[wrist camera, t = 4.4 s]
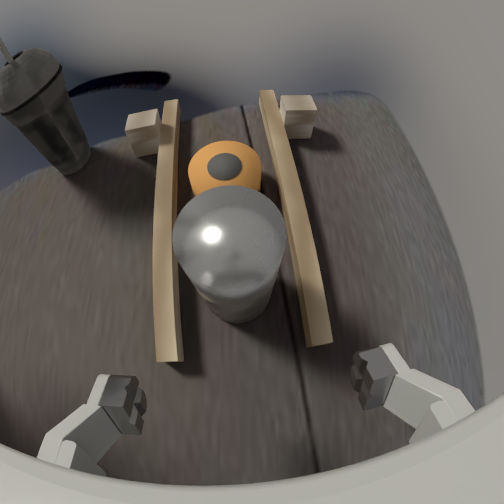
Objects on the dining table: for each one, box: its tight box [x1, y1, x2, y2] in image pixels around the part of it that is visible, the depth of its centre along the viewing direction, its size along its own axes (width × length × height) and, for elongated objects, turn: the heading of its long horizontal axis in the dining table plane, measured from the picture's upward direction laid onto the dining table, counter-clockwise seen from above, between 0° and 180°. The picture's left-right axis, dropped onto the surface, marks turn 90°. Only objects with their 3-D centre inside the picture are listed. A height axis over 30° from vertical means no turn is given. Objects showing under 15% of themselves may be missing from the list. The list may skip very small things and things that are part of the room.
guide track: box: [125, 90, 333, 362], centre depth 23 cm, size 18×26×4 cm
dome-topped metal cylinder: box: [172, 185, 286, 323], centre depth 17 cm, size 5×5×10 cm
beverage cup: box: [0, 38, 91, 175], centre depth 18 cm, size 7×7×20 cm
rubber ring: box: [188, 141, 262, 196], centre depth 24 cm, size 6×6×3 cm
